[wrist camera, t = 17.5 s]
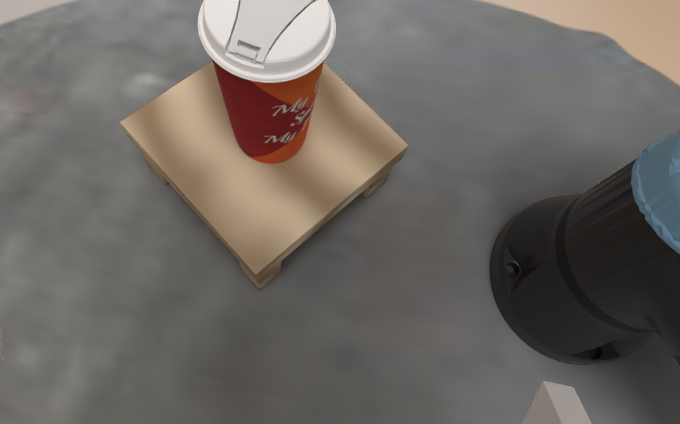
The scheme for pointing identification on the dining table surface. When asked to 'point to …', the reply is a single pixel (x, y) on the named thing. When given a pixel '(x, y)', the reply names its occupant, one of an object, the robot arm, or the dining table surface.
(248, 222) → the wooden step stool
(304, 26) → the paper cup
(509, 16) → the dining table surface
